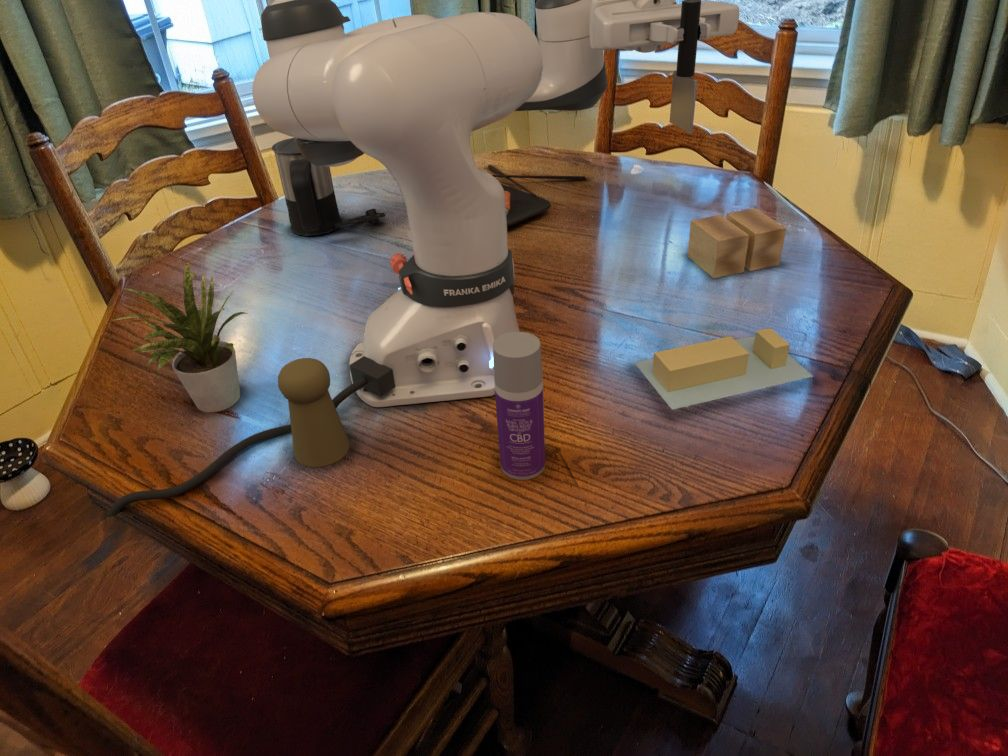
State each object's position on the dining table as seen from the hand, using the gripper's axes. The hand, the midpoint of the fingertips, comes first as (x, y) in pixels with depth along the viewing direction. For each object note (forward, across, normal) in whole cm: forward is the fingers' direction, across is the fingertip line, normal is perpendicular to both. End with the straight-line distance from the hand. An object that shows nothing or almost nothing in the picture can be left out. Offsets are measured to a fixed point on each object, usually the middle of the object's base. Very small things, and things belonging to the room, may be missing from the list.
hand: (691, 34), depth 94 cm
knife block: (+4, -8, -32) cm, 33 cm away
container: (+37, +36, -32) cm, 61 cm away
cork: (+27, +56, -32) cm, 70 cm away
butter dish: (+30, +9, -32) cm, 45 cm away
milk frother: (-34, +48, -32) cm, 67 cm away
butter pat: (+30, +3, -31) cm, 43 cm away
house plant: (+12, +68, -32) cm, 76 cm away
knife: (-1, 0, -12) cm, 12 cm away
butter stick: (+30, +12, -31) cm, 45 cm away
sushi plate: (-37, +16, -32) cm, 52 cm away
